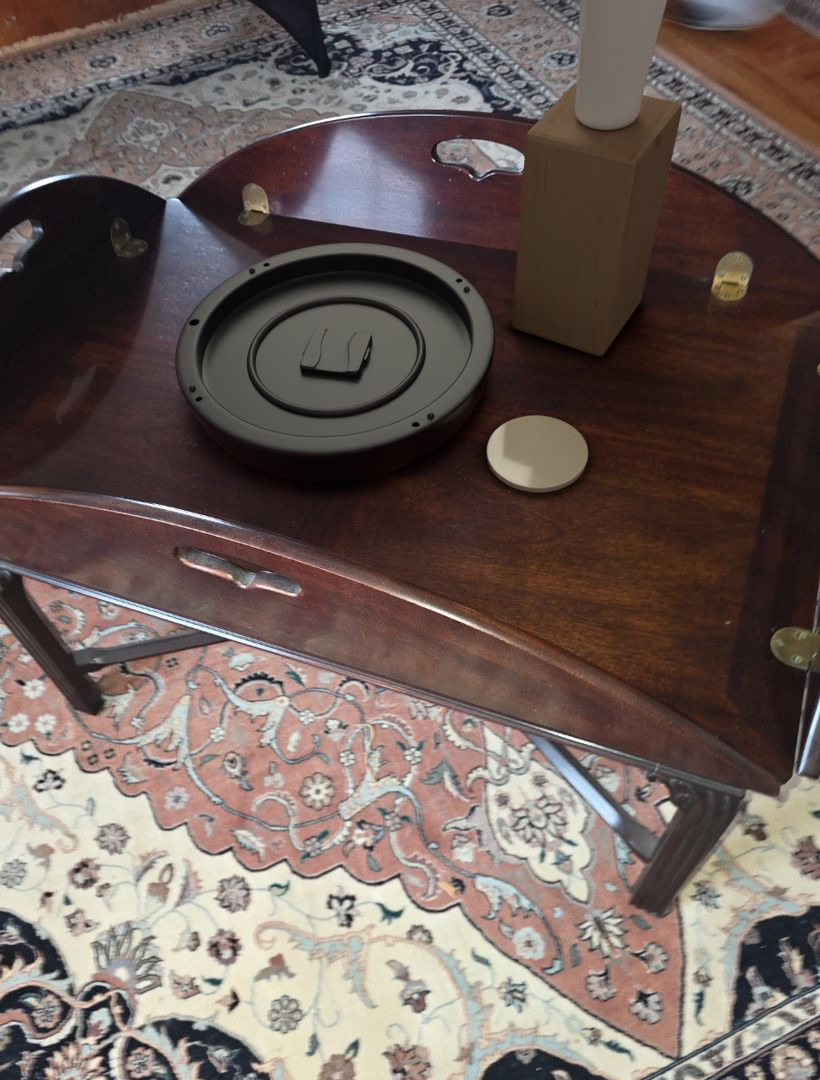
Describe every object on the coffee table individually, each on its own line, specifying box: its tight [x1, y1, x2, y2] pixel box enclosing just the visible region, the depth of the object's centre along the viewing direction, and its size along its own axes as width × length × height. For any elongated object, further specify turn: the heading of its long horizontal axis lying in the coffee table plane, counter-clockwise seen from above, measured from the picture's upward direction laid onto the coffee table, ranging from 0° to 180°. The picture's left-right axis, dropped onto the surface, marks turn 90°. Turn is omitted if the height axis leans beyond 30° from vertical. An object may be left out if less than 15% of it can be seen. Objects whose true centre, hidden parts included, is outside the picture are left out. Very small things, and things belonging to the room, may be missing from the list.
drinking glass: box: [575, 0, 668, 130], centre depth 67 cm, size 7×7×15 cm
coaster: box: [485, 415, 589, 493], centre depth 79 cm, size 9×9×1 cm
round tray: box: [174, 242, 496, 484], centre depth 84 cm, size 30×6×30 cm
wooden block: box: [511, 81, 683, 357], centre depth 81 cm, size 10×10×20 cm
